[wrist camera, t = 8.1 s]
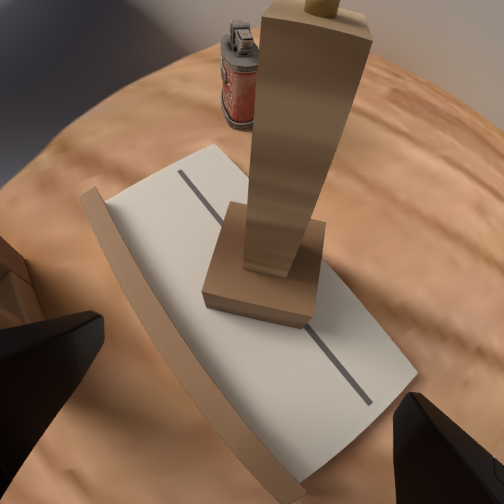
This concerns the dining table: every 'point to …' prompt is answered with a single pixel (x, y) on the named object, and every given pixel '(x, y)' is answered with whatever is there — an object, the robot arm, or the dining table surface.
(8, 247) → the brown wooden block structure
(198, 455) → the dining table surface
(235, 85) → the lighter
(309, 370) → the board
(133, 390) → the dining table surface
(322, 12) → the wooden post on base
